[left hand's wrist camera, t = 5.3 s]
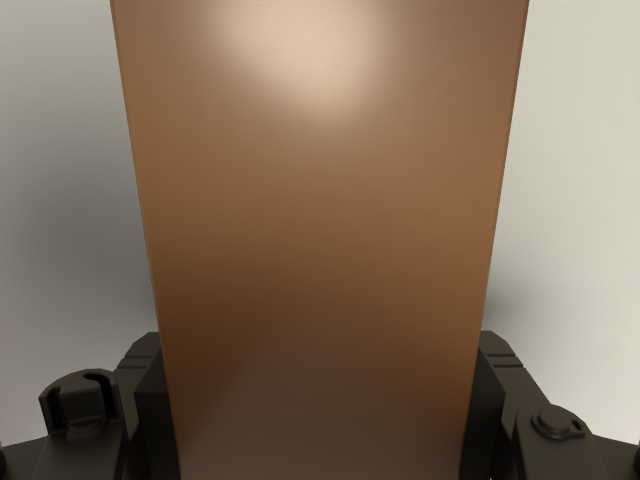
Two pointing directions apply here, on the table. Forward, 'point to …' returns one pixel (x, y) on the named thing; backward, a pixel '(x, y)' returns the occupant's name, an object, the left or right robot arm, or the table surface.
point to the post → (319, 223)
